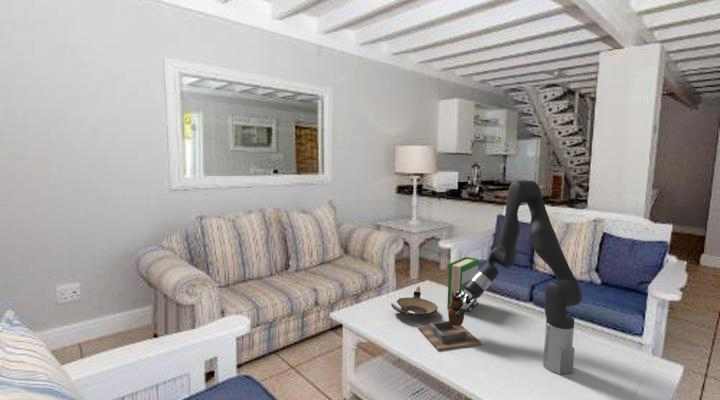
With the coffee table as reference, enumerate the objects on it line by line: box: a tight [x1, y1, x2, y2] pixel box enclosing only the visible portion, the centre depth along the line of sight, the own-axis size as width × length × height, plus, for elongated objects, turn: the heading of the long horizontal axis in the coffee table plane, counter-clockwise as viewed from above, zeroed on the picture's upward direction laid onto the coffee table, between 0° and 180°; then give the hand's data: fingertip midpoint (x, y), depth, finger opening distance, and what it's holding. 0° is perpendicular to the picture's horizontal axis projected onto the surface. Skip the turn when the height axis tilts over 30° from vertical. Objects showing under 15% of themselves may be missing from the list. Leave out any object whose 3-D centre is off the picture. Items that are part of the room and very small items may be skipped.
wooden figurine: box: [447, 291, 465, 326], centre depth 168 cm, size 7×6×15 cm
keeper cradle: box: [417, 320, 482, 352], centre depth 168 cm, size 20×20×4 cm
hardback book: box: [446, 256, 480, 310], centre depth 199 cm, size 18×7×24 cm, turn 137°
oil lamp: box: [390, 286, 438, 318], centre depth 193 cm, size 22×30×8 cm
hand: (452, 312), depth 168 cm, fingers closed on wooden figurine, 6 cm apart
